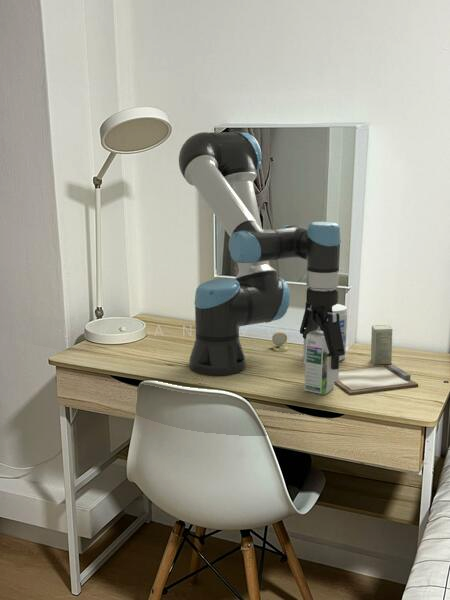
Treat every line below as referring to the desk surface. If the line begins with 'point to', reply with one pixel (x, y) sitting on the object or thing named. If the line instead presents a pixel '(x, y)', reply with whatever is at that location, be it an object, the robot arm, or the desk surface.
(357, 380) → the clipboard
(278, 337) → the eyeshadow
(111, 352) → the desk surface
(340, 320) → the supplement tub
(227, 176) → the robot arm
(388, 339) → the skincare box
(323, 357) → the syrup box
